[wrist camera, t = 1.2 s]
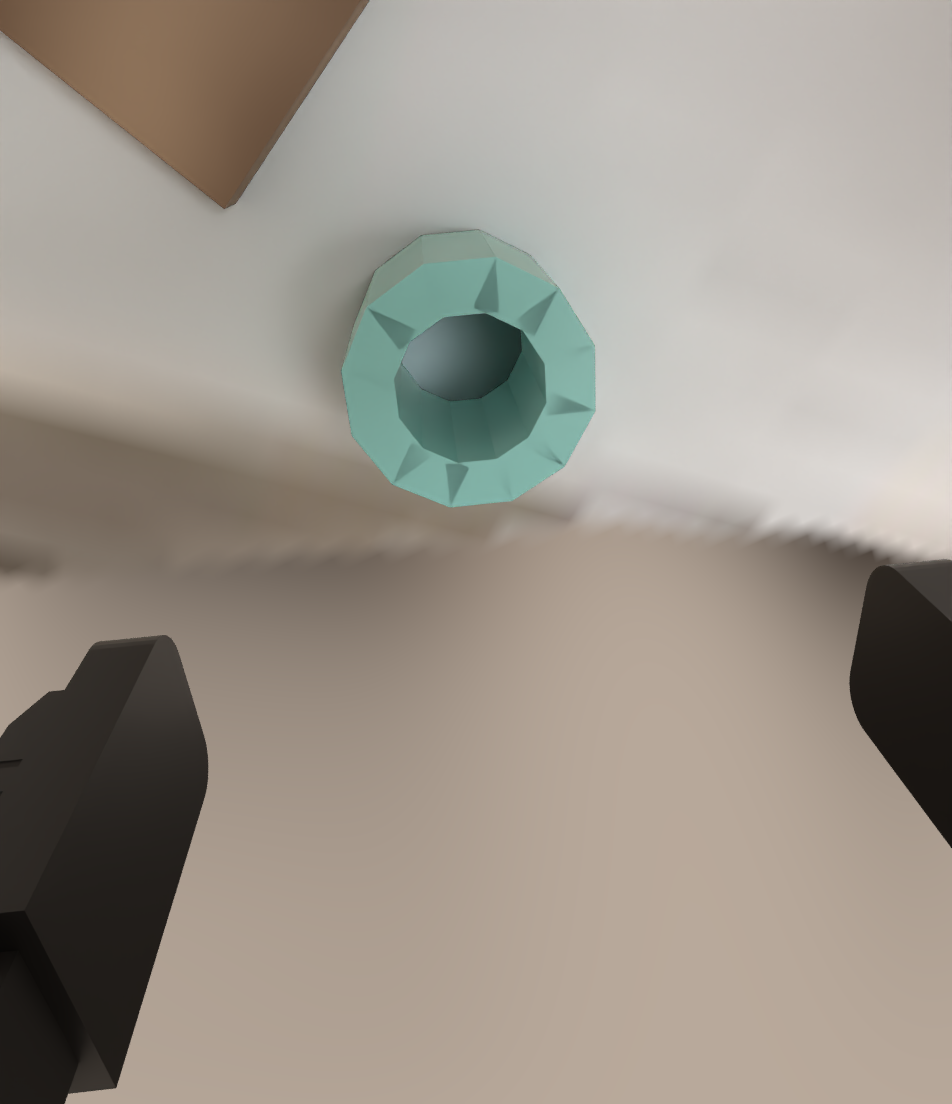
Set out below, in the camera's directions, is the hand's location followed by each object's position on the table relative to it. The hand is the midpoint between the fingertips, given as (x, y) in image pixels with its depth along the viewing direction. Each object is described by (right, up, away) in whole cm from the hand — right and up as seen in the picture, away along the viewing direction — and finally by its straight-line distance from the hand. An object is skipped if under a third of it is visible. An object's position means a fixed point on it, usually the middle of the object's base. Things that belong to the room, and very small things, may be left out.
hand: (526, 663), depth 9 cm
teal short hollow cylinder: (-1, +8, +14) cm, 16 cm away
